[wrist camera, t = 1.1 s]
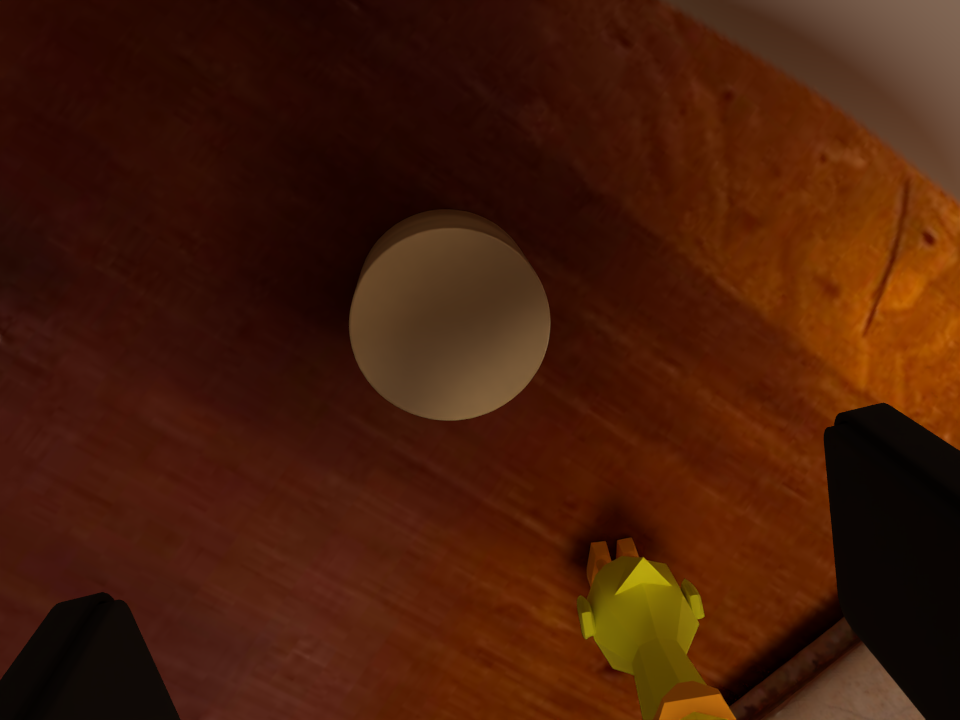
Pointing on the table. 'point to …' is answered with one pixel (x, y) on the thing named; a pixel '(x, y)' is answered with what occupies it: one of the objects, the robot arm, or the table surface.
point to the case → (828, 685)
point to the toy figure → (648, 632)
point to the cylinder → (448, 316)
